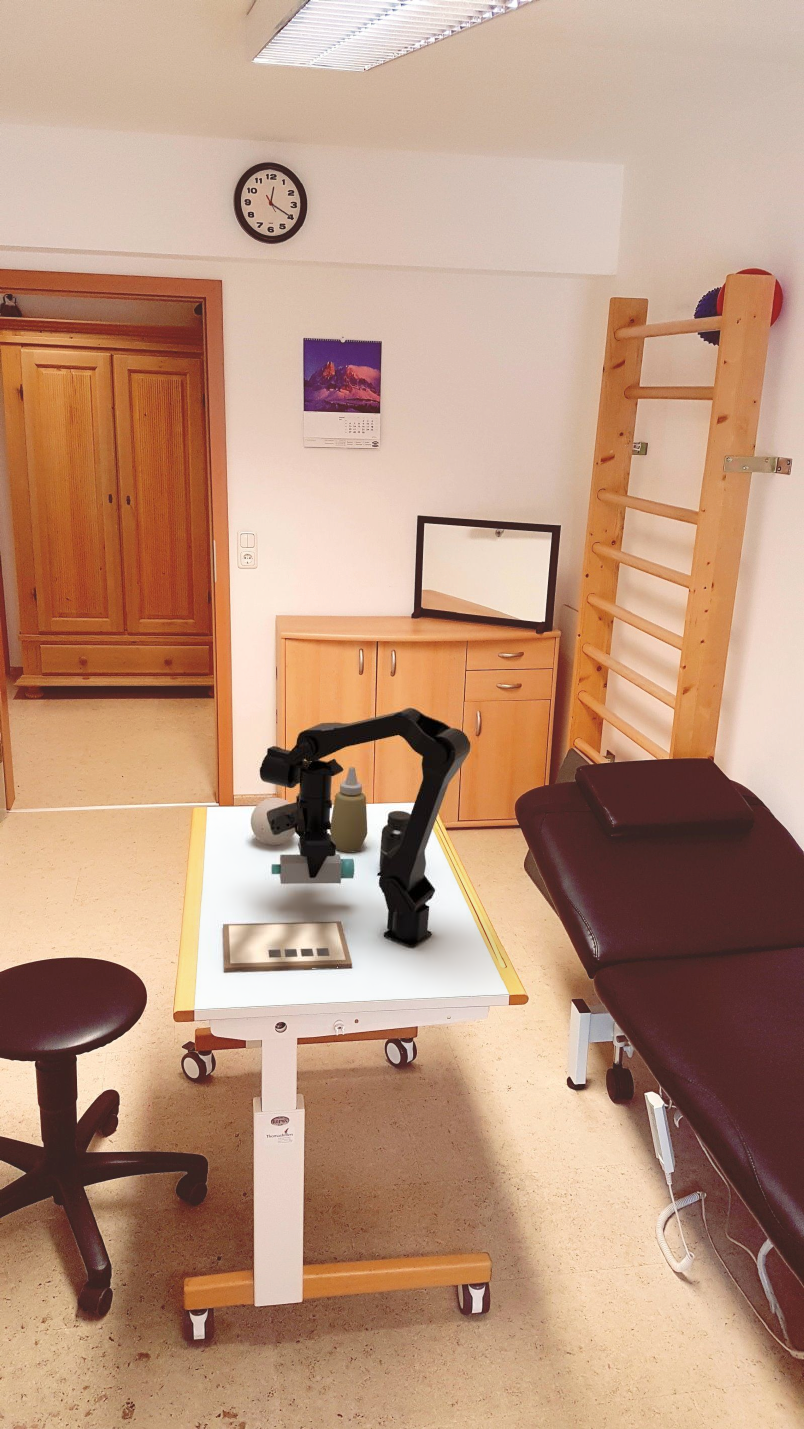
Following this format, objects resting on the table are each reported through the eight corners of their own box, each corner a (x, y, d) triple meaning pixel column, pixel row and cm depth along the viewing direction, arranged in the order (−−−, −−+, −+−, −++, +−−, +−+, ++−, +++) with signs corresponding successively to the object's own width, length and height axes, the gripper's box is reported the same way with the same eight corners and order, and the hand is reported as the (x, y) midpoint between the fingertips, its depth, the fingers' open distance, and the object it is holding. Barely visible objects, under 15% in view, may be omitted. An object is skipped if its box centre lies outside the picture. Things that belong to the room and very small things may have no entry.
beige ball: (241, 846, 215) (242, 801, 212) (265, 830, 224) (266, 787, 221) (282, 856, 211) (284, 811, 208) (305, 839, 220) (307, 796, 217)
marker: (351, 873, 191) (352, 854, 190) (353, 883, 188) (354, 863, 186) (270, 874, 189) (271, 854, 188) (271, 884, 185) (272, 863, 184)
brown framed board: (340, 925, 184) (341, 919, 183) (351, 967, 169) (352, 962, 169) (222, 928, 180) (223, 922, 179) (224, 972, 165) (224, 966, 165)
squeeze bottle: (324, 841, 220) (328, 762, 215) (359, 838, 223) (364, 760, 218) (335, 856, 213) (339, 775, 208) (371, 853, 215) (376, 773, 211)
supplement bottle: (373, 870, 207) (376, 815, 204) (388, 859, 213) (392, 806, 210) (402, 879, 204) (406, 823, 201) (418, 867, 210) (422, 813, 207)
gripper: (267, 775, 191) (264, 852, 195) (273, 812, 173) (270, 895, 177) (326, 775, 193) (322, 851, 197) (338, 812, 175) (333, 894, 180)
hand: (311, 872), depth 188 cm, fingers closed on marker, 4 cm apart
